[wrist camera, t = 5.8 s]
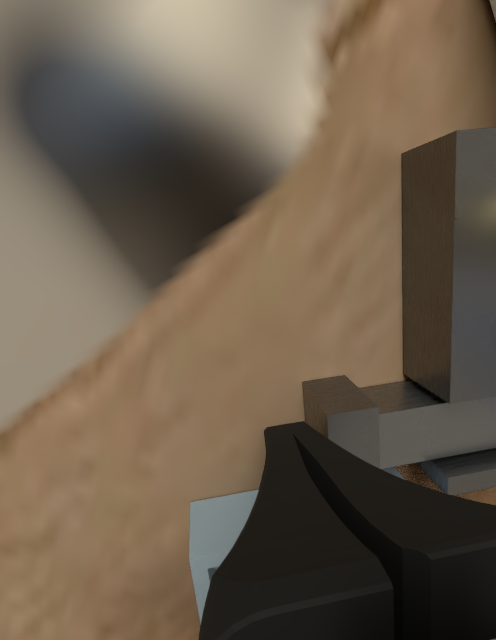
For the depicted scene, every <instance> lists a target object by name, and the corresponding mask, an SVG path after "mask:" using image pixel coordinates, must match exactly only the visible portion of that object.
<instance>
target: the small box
mask: <svg viewBox="0 0 496 640" xmlns="http://www.w3.org/2000/svg"><path fill="white" fill-rule="evenodd" d="M489 1H490V4H491V7H492V11H493V14H494V18H495V21H496V0H489Z"/></svg>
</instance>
